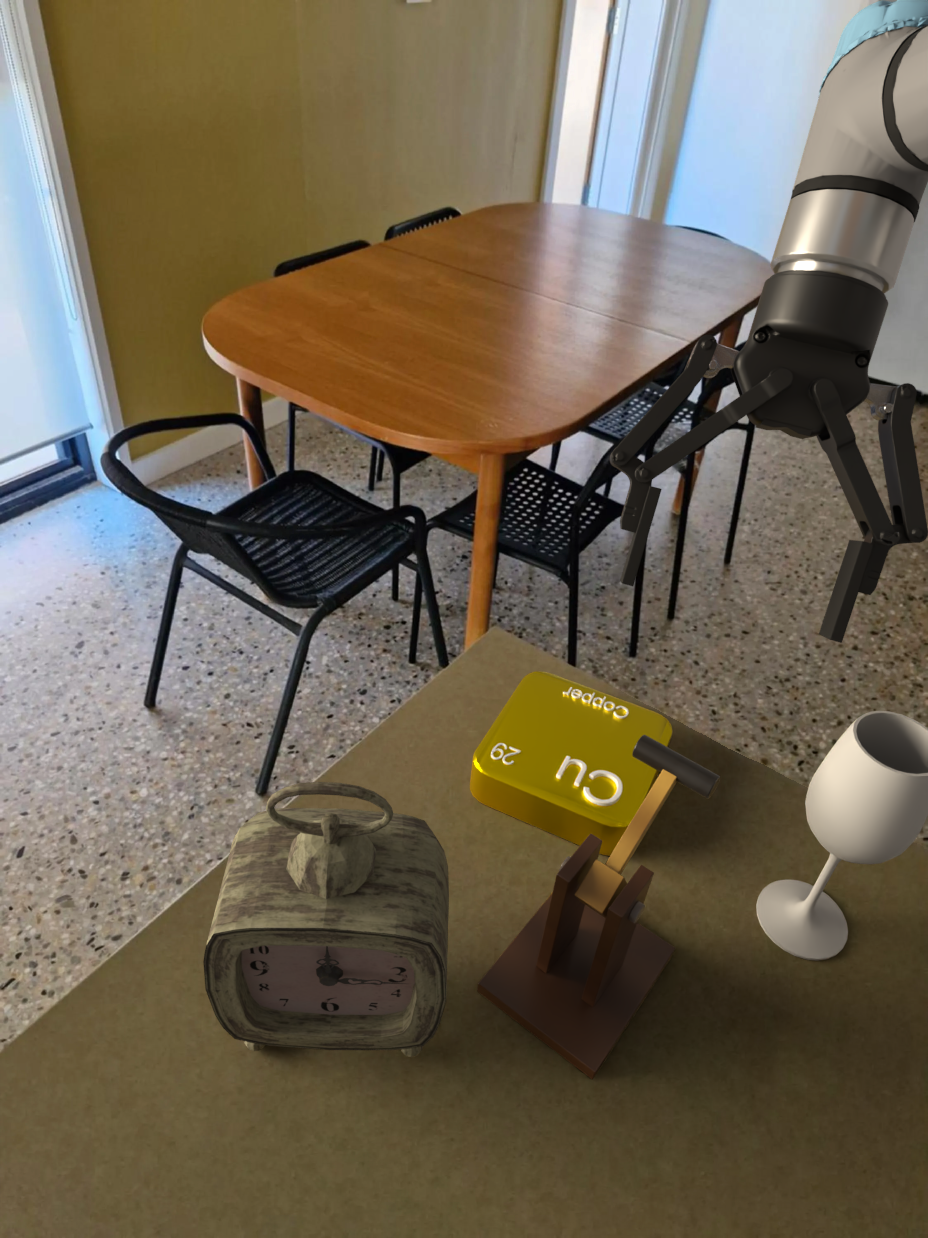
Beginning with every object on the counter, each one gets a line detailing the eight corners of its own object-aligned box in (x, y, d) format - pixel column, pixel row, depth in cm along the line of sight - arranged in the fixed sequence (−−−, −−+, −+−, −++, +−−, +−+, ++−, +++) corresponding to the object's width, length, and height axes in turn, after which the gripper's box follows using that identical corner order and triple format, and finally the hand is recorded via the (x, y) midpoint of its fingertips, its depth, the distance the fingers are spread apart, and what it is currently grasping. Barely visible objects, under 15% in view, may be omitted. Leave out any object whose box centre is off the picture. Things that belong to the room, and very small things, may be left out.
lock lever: (645, 740, 65) (643, 729, 63) (720, 781, 62) (721, 772, 60) (555, 885, 62) (550, 879, 60) (630, 935, 60) (627, 930, 57)
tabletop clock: (223, 1069, 60) (172, 842, 44) (249, 946, 67) (213, 712, 51) (437, 1078, 60) (462, 856, 45) (441, 955, 67) (463, 725, 52)
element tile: (668, 750, 86) (679, 715, 83) (620, 865, 75) (631, 830, 72) (526, 695, 90) (531, 660, 87) (461, 797, 79) (464, 761, 76)
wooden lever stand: (563, 884, 73) (588, 782, 65) (672, 956, 69) (713, 856, 61) (476, 991, 65) (492, 891, 57) (592, 1080, 61) (626, 985, 53)
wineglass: (837, 981, 68) (951, 805, 55) (741, 930, 71) (827, 752, 58) (858, 908, 73) (967, 732, 60) (768, 864, 76) (853, 686, 63)
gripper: (1001, 344, 58) (896, 653, 61) (629, 256, 60) (546, 558, 63) (1063, 319, 51) (940, 672, 54) (636, 220, 53) (541, 564, 56)
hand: (726, 611), depth 59 cm, fingers open, 13 cm apart
